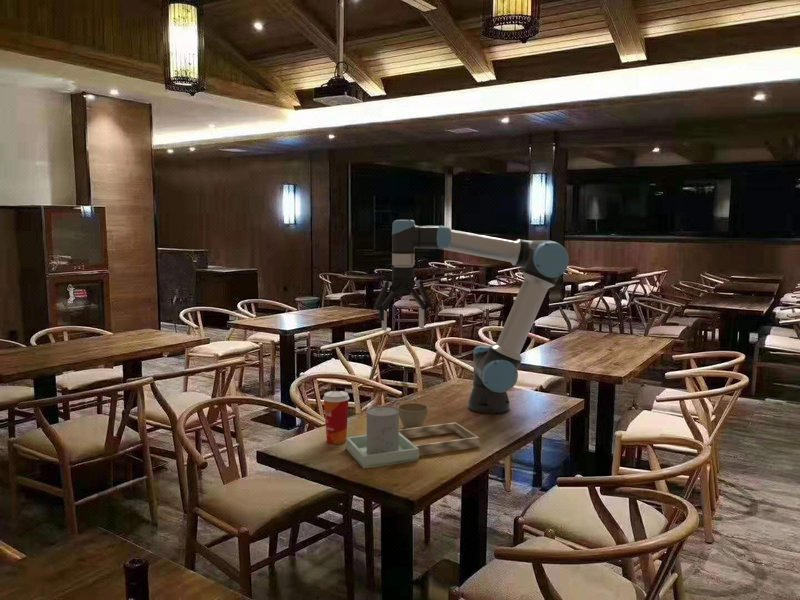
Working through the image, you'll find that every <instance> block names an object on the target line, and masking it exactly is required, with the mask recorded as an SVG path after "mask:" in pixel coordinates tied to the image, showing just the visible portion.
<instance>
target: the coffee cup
mask: <svg viewBox="0 0 800 600" xmlns="http://www.w3.org/2000/svg"><path fill="white" fill-rule="evenodd" d="M322 400H323V407H324V419H325V421H324V422H325V433H326V442H327V443H328V444H331V445H340V444H345V443H346V437H347V435H348V431H347V430H348V418H349V417H348V416H349V415H348V414H349V413H348V412H349V401H350V396H349V393H348V392H347V391H344V390H340V391H338V390H331V391H327V392H325V393H324V395H323V397H322Z"/></svg>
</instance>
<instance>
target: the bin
mask: <svg viewBox="0 0 800 600" xmlns="http://www.w3.org/2000/svg"><path fill="white" fill-rule="evenodd" d="M410 441H411V440H410V439H409V438H408V439H406V438H405V437H404V436H403V435H402V434H400V433H399V451H392V452H385V453H378V454H371V455H368V454H367V453H366V451H367V434H363V435H356V436H355V435H354V436H348V437H347V436H346V442H345V450H346V451H347V452H348V453H349V455H351V456H352V457H353V458H354V459H355V461H356V462H357V463H358V465H360V467H361V468H362V469H363V470H365V469H372V468H377V467H385V466H392V465H398V464H407V463H412V462H419V460H420V456H419V449H418V448H417V447H416V446H415V445H416V444H414V443H413V442H412V441H411V442H412V443H413V444H412V443H411V442H410Z"/></svg>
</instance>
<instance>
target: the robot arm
mask: <svg viewBox="0 0 800 600" xmlns="http://www.w3.org/2000/svg"><path fill="white" fill-rule="evenodd" d="M391 245H392V246H391V251H392V252H391V260H392V261H391V265H392V268H391V281H387V280H383V281H382V288H381V289H380V292H379V293H378V296H377V298H376V301H375V303H374V305H373V309H375V310H377V311H378V319H379V321H381V331H384V332H387V331H388V330H387V327H388V326H387V325H388V324H387V321H388V320H387V315H388V314H387V312H388V311H386V309H387V308H388V306H389V305H390V304H391V302H392V301H393V300H394V299H395V297H396V296H397V295H409V294H410V296H412V298H413V299H414V300H415V301H416V303H417V304H418V305H419V307H420V308H418V328H419V329H425V319H426V318H427V310H428V308H431V307H432V306H433V304H432V302H431V299H430V297H429V296H428V293H427V291H426V288H425V287H424V285H425V284H424V281H423V280H421V279H417V280H415V260H416V259H415V256H416V255H415V252H416V251H415V249H430V250H431V249H435V250H436V249H437V250H444V251H449V252H453V253H454V252H455V253H458V254H459V253H461V254H466V255H471V256H475V257H483V258H486V259H491V260H498V261H503V262H509V263H511V265H512V266H514V267H518V268H522V269H523V270H522V276H523V282H522V283H521V286H520V288H519V290H518V293H517V295H516V297H515V300H514V301H513V305H512V306H511V309H510V312H509V314H508V316H507V319H506V320H505V322H504V325H503V327H502V330H501V332H500V334H499V336H498V339H497V341H496V343H494V344H491V345H478V346H477V345H476V346H475V347H474V348H473V379H472V380H473V381H472V383H473V385H472V389H471V392H470V394H469V398H468V401H467V408H468V409H469V410H471V411H473V412H476V413H481V414H502V413H506V412H508V411H510V409H511V408H510V399H509V396H508V393H507V392H508V391H510V390H512V389H513V388H514V387H515V385H516V384H517V382H518V379H519V378H518V377H519V371H518V370H519V367H520V365H521V363H522V361H523V359H522V356H521V351H522V349H523V347H524V345H525V343H526V341H527V339H528V338H527V337H528V336H529V333H530V331H531V328H532V326H533V324H534V322H535V320H536V317H537V315H538V313H539V311H540V308H541V306H542V304H543V301H544V299H545V298H546V295H547V293H548V291H549V289H550V288H553V287H555V285H556V283H557V282H558V280H559V279H558V278H559V277H560V276H561V275H563V274H564V273H565V272H566V270H567V269H568V266H569V263H570V262H569V261H570V258H569V253H568V250H567V249H566V247H564V246H563V245H562V244H561V243H559V242H557V241H553V240H542V239H541V240H529V239H528V240H526V239H520V238H517V239H516V240H511V239H505V238H499V237H493V236H489V235H483V234H479V233H478V234H477V233H473V232H466V231H462V230H455V229H451V228H450V226H447V225H430V224H429V225H416V222H415V220H414V219H396V220H394V221H393V222H392V231H391ZM415 286H416V287H417V289H418V290H419V293H420V295H421V297H420V295H418V293H417V291H416V290H415V289H414V288H415ZM390 287H392V289H391V290H390V292H389V294H388V295H387V293H388V291H389V288H390ZM386 295H387V296H386Z"/></svg>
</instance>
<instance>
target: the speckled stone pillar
mask: <svg viewBox="0 0 800 600" xmlns="http://www.w3.org/2000/svg"><path fill="white" fill-rule="evenodd" d="M365 413H366V435H367V451H366V453H367V454H368V455H371V454H378V453H385V452H392V451H399V429H400V423H399V422H400V421H399V420H400V416H399V410H398V408H396V407H393V406H384V405H383V406H382V405H381V406H373V407H369V408H368V409H366V411H365Z"/></svg>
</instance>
